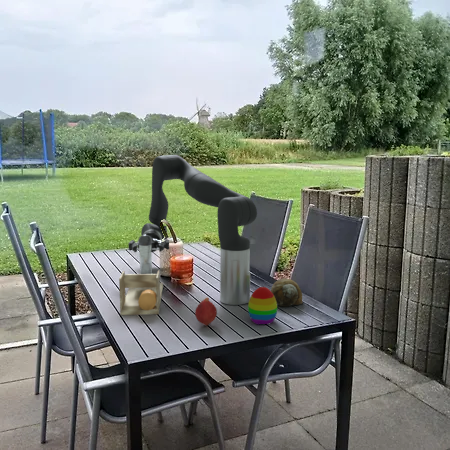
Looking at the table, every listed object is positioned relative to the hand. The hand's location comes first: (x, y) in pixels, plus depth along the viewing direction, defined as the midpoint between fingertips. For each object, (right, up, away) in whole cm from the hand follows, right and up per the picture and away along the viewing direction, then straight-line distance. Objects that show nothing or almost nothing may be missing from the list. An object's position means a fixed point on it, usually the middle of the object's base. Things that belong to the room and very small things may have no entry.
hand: (147, 249), depth 156 cm
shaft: (0, -11, -5) cm, 12 cm away
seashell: (+46, -17, -12) cm, 51 cm away
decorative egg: (+37, -19, -27) cm, 50 cm away
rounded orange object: (+4, -13, -20) cm, 24 cm away
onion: (+21, -20, -31) cm, 42 cm away
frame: (0, -16, -10) cm, 19 cm away
